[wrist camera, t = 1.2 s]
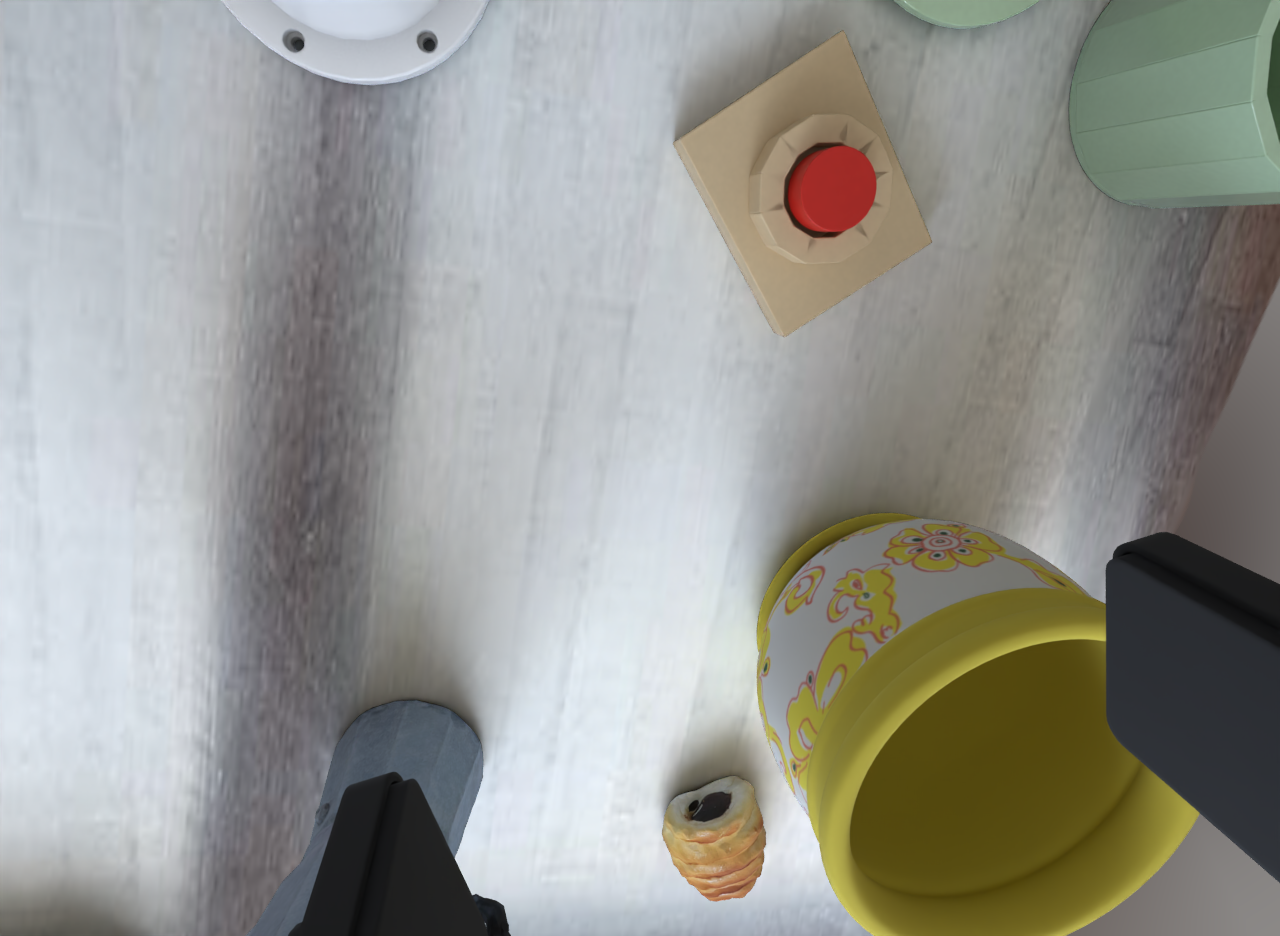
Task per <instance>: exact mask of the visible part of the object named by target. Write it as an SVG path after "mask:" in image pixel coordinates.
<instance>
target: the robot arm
mask: <svg viewBox="0 0 1280 936" xmlns="http://www.w3.org/2000/svg"><path fill="white" fill-rule="evenodd" d="M221 1H222V2H223V3H224V4H225V5H226V7H227V8H228V9H229V10H230V11H231V12H232V14H233V15H234V16H235V17H236V18H237V20H238V21H239V22H240V23H241V24H242V25H243V26H244V27H245V28H247V29H248V30H249V31H250V32H251V33H252V34H253V35H255V36H256V37H257V38H258V39H259V40H260V41H261V42H263V43H264V44H265V45H266V46H267V47H269V48H270V49H272V50H273V51H275V52H276V53H277V54H279V55H280V56H282V57H283V58H285V59H286V60H288V61H290V62H292V63H294V64H296V65H298V66H300V67H302V68H304V69H306V70H308V71H310V72H312V73H314V74H316V75H320V76H323V77H326V78H330V79H333V80H336V81H340V82H343V83H353V84H364V85H378V84H387V83H397V82H401V81H404V80H407V79H410V78H413V77H416V76H419V75H422V74H424V73H426V72H428V71H429V70H431V69H432V68H434V67H436V66H437V65H439V64H441V63H442V62H444V61H446V60H447V59H448V58H449V57H450V56H451V55H452V54H453V53H454V52H455V51H456V50H457V49H458V48H460V47H461V46H462V45H463V44H464V43H465V42H466V41H467V39H468V38H469V36H470V35H471V33H472V32H473V30H474V29H475V27H476V26H477V24H478V23H479V21H480V20H481V19H482V16H483V14H484V12H485V9H486V7H487V5H488V2H489V0H221ZM299 39H301V40H303V42H304V48H303V49H302V50H301V51H297V50H295V47H294V43H295V41H296V40H299ZM427 40H432V41H433V42H434V43H435V48H434V50H433V51H427V50H425V48H424V43H425V42H426V41H427ZM1106 717H1107V722H1108V725H1109V728H1110V729H1111V731H1112V733H1113V735H1114V736H1115V738H1116V739H1117V740H1118V741H1119V743H1120V744H1121V745H1122V746H1123V747H1125V748H1126V749H1127V750H1128V751H1129V752H1130V753H1131V754H1133V755H1134V756H1135V757H1136V758H1137V759H1138V760H1139V761H1141V762H1142V763H1143V764H1144V765H1145V766H1146V767H1147V768H1149V769H1150V770H1151V771H1152V772H1153V773H1154V774H1156V775H1157V776H1158V777H1159V778H1160V779H1161V780H1162V781H1164V782H1165V783H1166V784H1167V785H1168V786H1169V787H1170V788H1172V789H1173V790H1174V791H1175V792H1176V793H1177V794H1178V795H1180V796H1181V797H1182V798H1183V799H1184V800H1185V801H1186V802H1188V803H1189V804H1190V805H1191V806H1192V807H1193V808H1195V809H1196V810H1197V811H1198V812H1199V813H1200V814H1201V815H1203V816H1204V817H1205V818H1206V819H1207V820H1208V821H1209V822H1211V823H1212V824H1213V825H1214V826H1215V827H1216V828H1218V829H1219V830H1220V831H1221V832H1222V833H1223V834H1225V835H1226V836H1227V837H1228V838H1229V839H1230V840H1231V841H1232V842H1234V843H1235V844H1236V845H1237V846H1238V847H1239V848H1240V849H1242V850H1243V851H1244V852H1245V853H1246V854H1247V855H1249V856H1250V857H1251V858H1252V859H1253V860H1254V861H1255V862H1256V863H1258V864H1259V865H1260V866H1261V867H1262V868H1263V869H1265V870H1266V871H1267V872H1268V873H1269V874H1270V875H1271V876H1273V877H1274V878H1275V879H1276V880H1277V881H1279V882H1280V584H1278V583H1276V582H1274V581H1272V580H1269V579H1267V578H1265V577H1263V576H1261V575H1259V574H1257V573H1254V572H1253V571H1251V570H1249V569H1246V568H1244V567H1242V566H1240V565H1238V564H1236V563H1233V562H1232V561H1229V560H1227V559H1225V558H1223V557H1221V556H1219V555H1217V554H1215V553H1213V552H1211V551H1209V550H1206V549H1204V548H1202V547H1200V546H1198V545H1196V544H1194V543H1192V542H1190V541H1188V540H1185V539H1183V538H1181V537H1179V536H1177V535H1175V534H1171V533H1168V532H1159V533H1156V534H1153V535H1150V536H1147V537H1143V538H1140V539H1137V540H1134V541H1131V542H1127V543H1124V544H1122V545H1120V546H1118V547H1117V548H1116V550H1115V551H1114V554H1113V559H1112V560H1110V561H1109V562H1108V564H1107V566H1106ZM288 936H488V933H487V929H486V925H485V922H484V920H483V917H482V915H481V913H480V911H479V909H478V907H477V905H476V903H475V901H474V898H473V896H472V894H471V892H470V890H469V888H468V886H467V884H466V882H465V880H464V877H463V875H462V873H461V871H460V869H459V867H458V865H457V863H456V861H455V859H454V856H453V854H452V852H451V850H450V848H449V846H448V844H447V842H446V840H445V838H444V835H443V833H442V831H441V829H440V827H439V825H438V823H437V821H436V819H435V816H434V814H433V812H432V810H431V808H430V806H429V804H428V802H427V800H426V798H425V795H424V793H423V791H422V789H421V787H420V785H419V784H418V782H417V781H416V780H415V779H408V780H405V781H404V780H403V779H402V777H401V775H399V774H398V773H397V772H390V773H387V774H383V775H380V776H377V777H374V778H370V779H367V780H364V781H361V782H358V783H354V784H351V785H349V786H348V787H347V788H346V789H345V791H344V793H343V795H342V799H341V802H340V805H339V808H338V811H337V814H336V817H335V820H334V824H333V827H332V830H331V833H330V836H329V839H328V842H327V846H326V849H325V852H324V855H323V858H322V861H321V864H320V867H319V871H318V874H317V877H316V880H315V883H314V886H313V889H312V893H311V896H310V899H309V902H308V905H307V908H306V911H305V914H304V918H303V921H302V922H301V923H298V924H297V925H296V926H295V927H294V928H293V929H292V930H291V931H290V933H289V934H288Z"/></svg>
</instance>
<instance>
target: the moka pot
mask: <svg viewBox="0 0 1280 936" xmlns="http://www.w3.org/2000/svg"><path fill="white" fill-rule="evenodd" d="M390 772H397V773H398V774H399V775H401V777H402V779H403V780H404V781H405V780H408V779H415V780H416V781H417V782H418V784H419V785H420V787H421V789H422V791H423V793H424V795H425V798H426V800H427V802H428V804H429V806H430V808H431V810H432V812H433V814H434V816H435V819H436V821H437V823H438V825H439V827H440V829H441V831H442V833H443V835H444V838H445V840H446V842H447V844H448V846H449V848H450V850H451V852H452V854H453V856H454V858H455V855H456V853H457V851H458V849H459V846H460V843H461V840H462V837H463V833H464V829H465V827H466V824H467V822H468V819H469V816H470V813H471V810H472V807H473V805H474V802H475V800H476V797H477V794H478V791H479V788H480V784H481V781H482V778H483V752H482V747H481V743H480V740H479V739H478V737H477V735H476V734H475V733H474V731H473V730H472V729H471V728H470V727H469V726H468V725H467V724H466V723H465V722H464V721H463V720H462V719H461V718H460V717H459V716H457V715H456V713H454V712H452V711H451V710H449V709H447V708H444V707H441V706H438V705H435V704H429V703H425V702H420V701H418V700H414V701H396V702H392V703H389V704H385V705H380V706H378V707H375V708H372V709H370V710H368V711H366V712H364V713H363V714H361V715H360V716H359V717H358V718H357V719H356V720H355V721H354V722H353V723H352V724H351V726H350V727H349V728H348V729H347V731H346V732H345V734H344V735H343V737H342V738H341V740H340V741H339V743H338V744H337V746H336V748H335V752H334V755H333V758H332V761H331V765H330V769H329V772H328V776H327V780H326V783H325V787H324V791H323V795H322V798H321V802H320V806H319V809H318V810H317V811H316V816H315V824H314V828H313V832H312V836H311V841H310V845H309V846H308V848H307V850H306V852H305V855H304V857H303V859H302V861H301V863H300V864H299V865H298V866H297V867H296V868H295V869H294V870H293V871H292V872H291V873H290V874H289V875H288V876H287V877H286V878H285V880H284V881H283V882H282V883H281V885H280V886H279V888H278V890H277V891H276V893H275V895H274V896H273V898H272V900H271V901H270V903H269V904H268V906H267V908H266V909H265V911H264V912H263V914H262V916H261V917H260V919H259V921H258V922H257V924H256V925H255V926H254V927H253V928H252V930H251V931H250V932H249V933H248V934H247V935H246V936H288V934H289V933H290V931H291V930H292V929H293V928H294V927H295V926H296V925H297V924H298V923H301V922H302V921H303V918H304V914H305V911H306V908H307V905H308V902H309V899H310V896H311V893H312V889H313V886H314V883H315V880H316V877H317V874H318V871H319V867H320V864H321V861H322V858H323V855H324V852H325V849H326V846H327V842H328V839H329V836H330V833H331V830H332V827H333V824H334V820H335V817H336V814H337V811H338V808H339V805H340V802H341V799H342V795H343V793H344V791H345V789H346V788H347V787H348V786H349V785H351V784H354V783H358V782H361V781H364V780H367V779H370V778H374V777H377V776H380V775H383V774H387V773H390ZM472 896H473V898H474V901H475V903H476V905H477V907H478V909H479V911H480V913H481V915H482V917H483V920H484V922H485V923H486V928H487V933H488V936H511V935H510V933H509V932H508V931H509V925H508V923H507V918H506V913H505V909H504V906H503V905H502V904H500V903H499V902H497V901H495V900H492V899H489V898H483V897H481V896H479V895H477V894H475V895H472Z"/></svg>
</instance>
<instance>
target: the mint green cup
mask: <svg viewBox="0 0 1280 936" xmlns="http://www.w3.org/2000/svg"><path fill="white" fill-rule="evenodd" d="M1069 123H1070V131H1071V138H1072V142H1073V146H1074V149H1075V153H1076V156H1077V158H1078V160H1079V162H1080V164H1081V167H1082V168H1083V170H1084V171H1085V173H1086V175H1087V176H1088V178H1089V179H1090V180H1091V181H1092V182H1093V183H1094V184H1095V186H1096V187H1097V188H1098V189H1100V190H1101V191H1102V192H1104V193H1105V194H1106V195H1107V196H1109V197H1111V198H1113V199H1115V200H1117V201H1119V202H1122V203H1125V204H1128V205H1133V206H1139V207H1149V208H1153V209H1158V208H1185V207H1213V206H1240V205H1267V204H1280V0H1112V1H1111V2H1110V3H1109V4H1108V6H1107V7H1106V8H1105V10H1104V11H1103V12H1102V13H1101V15H1100V16H1099V18H1098V20H1097V21H1096V23H1095V24H1094V26H1093V27H1092V29H1091V31H1090V33H1089V35H1088V37H1087V39H1086V41H1085V43H1084V45H1083V48H1082V50H1081V53H1080V55H1079V58H1078V61H1077V64H1076V68H1075V71H1074V75H1073V79H1072V85H1071V91H1070V102H1069Z"/></svg>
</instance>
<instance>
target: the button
mask: <svg viewBox="0 0 1280 936" xmlns="http://www.w3.org/2000/svg"><path fill="white" fill-rule="evenodd" d="M876 189H877V182H876V175H875V171H874V168H873V166H872V164H871V162H870V161H869V159H868V158H867V157H866V156H865V155H864V154H863V153H862V152H860V151H859V150H857V149H855V148H852V147H849V146H835V147H830V148H827V149H823V150H820V151H816V152H814V153H812V154H810V155H808V156H807V157H805V158H804V159H803V160H802V161H801V162H800V163H799V164H798V165H797V167H796V168H795V170H794V171H793V173H792V176H791V178H790V181H789V186H788V202H789V206H790V209H791V212H792V214H793V216H794V217H795V218H796V220H797V221H798V222H799V223H800V224H801V225H803V226H804V227H806V228H807V229H810V230H813V231H817V232H838V231H844V230H847V229H850V228H852V227H854V226H855V225H857V224H858V223H859V222H860V221H861V220H863V219H864V217H865V216H866V215H867V213H868V212H869V210H870V209H871V207H872V205H873V202H874V199H875V195H876Z"/></svg>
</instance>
